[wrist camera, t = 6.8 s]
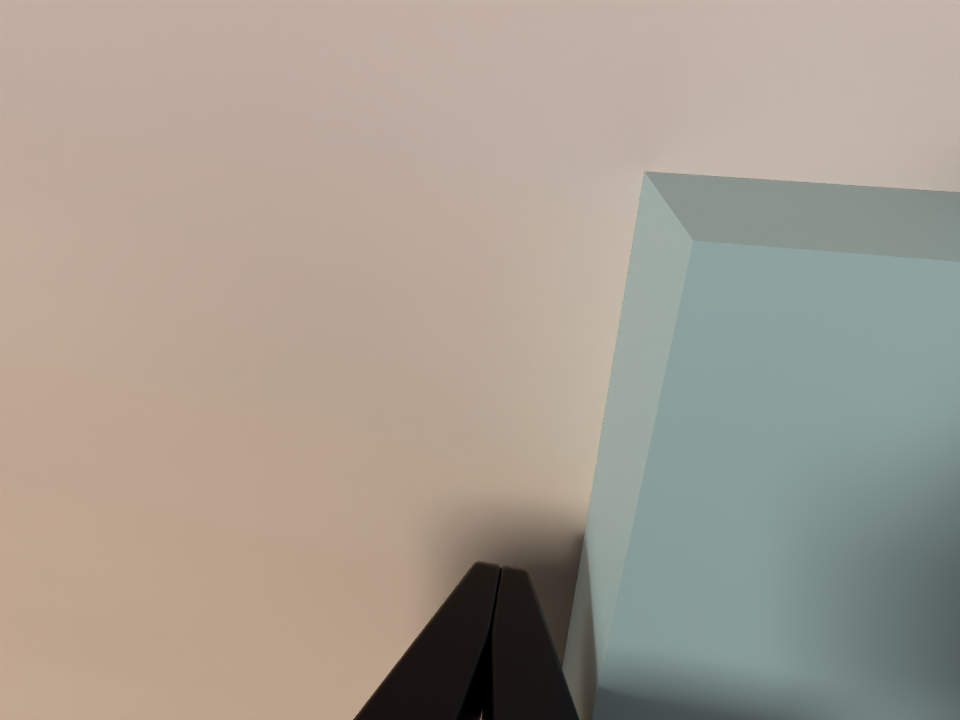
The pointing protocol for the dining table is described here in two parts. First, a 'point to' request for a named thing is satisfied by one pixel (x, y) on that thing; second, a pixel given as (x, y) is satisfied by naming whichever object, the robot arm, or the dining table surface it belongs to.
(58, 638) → the dining table surface
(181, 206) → the dining table surface
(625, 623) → the teal carton
